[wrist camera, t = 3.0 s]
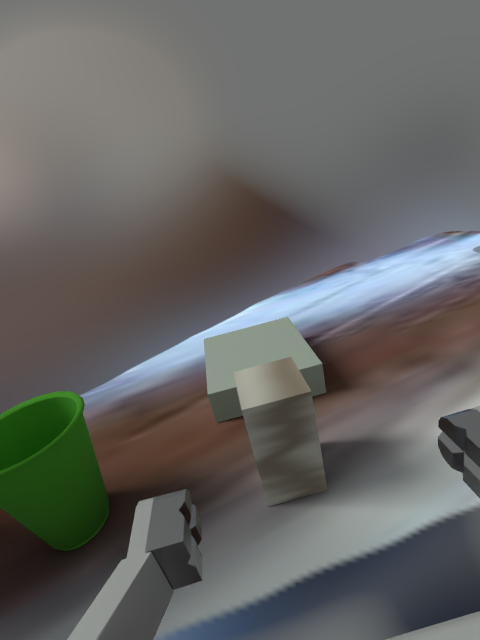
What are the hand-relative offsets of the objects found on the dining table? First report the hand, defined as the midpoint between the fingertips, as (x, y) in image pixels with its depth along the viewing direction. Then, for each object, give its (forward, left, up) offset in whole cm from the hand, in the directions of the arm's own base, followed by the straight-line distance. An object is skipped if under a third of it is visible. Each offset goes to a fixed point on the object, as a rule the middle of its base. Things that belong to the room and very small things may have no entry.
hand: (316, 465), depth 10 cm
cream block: (0, +13, -16) cm, 20 cm away
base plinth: (+1, +29, -16) cm, 33 cm away
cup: (-19, +14, -16) cm, 28 cm away
